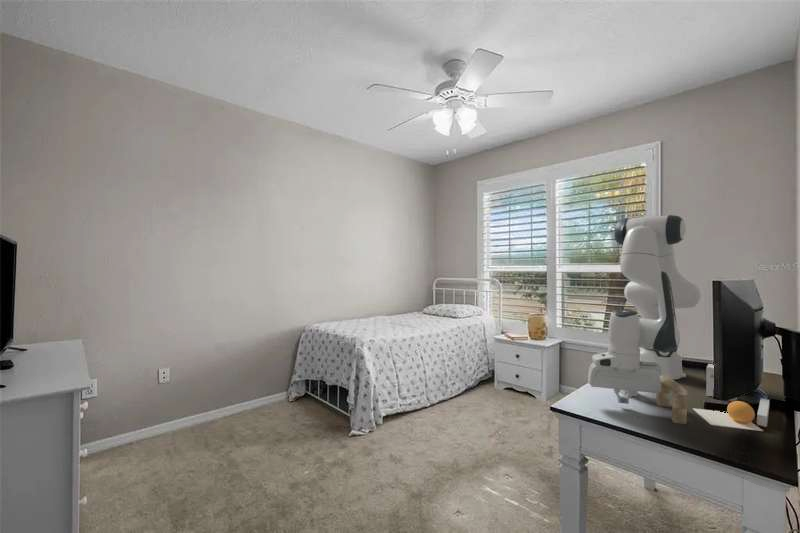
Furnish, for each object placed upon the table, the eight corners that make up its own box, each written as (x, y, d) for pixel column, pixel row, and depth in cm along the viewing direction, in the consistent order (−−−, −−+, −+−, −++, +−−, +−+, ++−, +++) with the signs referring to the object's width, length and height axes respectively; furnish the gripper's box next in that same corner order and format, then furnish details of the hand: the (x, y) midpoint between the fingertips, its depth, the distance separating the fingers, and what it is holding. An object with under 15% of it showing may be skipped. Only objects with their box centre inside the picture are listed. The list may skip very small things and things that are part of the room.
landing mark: (692, 408, 117) (692, 408, 117) (739, 413, 114) (739, 413, 114) (711, 425, 106) (711, 424, 106) (763, 431, 102) (763, 430, 102)
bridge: (674, 422, 108) (674, 389, 107) (656, 403, 122) (656, 374, 122) (686, 424, 107) (687, 391, 106) (667, 404, 121) (667, 375, 121)
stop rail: (760, 407, 119) (760, 398, 119) (769, 409, 117) (769, 399, 117) (756, 424, 106) (757, 414, 106) (766, 426, 105) (766, 416, 105)
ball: (754, 413, 109) (734, 423, 111) (738, 395, 111) (718, 405, 113) (764, 419, 104) (743, 429, 105) (747, 399, 106) (726, 409, 107)
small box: (738, 398, 126) (738, 368, 126) (736, 402, 122) (737, 371, 122) (707, 392, 132) (708, 363, 132) (705, 396, 128) (706, 366, 128)
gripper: (657, 360, 118) (657, 403, 118) (587, 355, 124) (586, 395, 124) (665, 365, 112) (664, 410, 112) (590, 360, 118) (590, 402, 118)
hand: (622, 402), depth 118 cm, fingers closed
